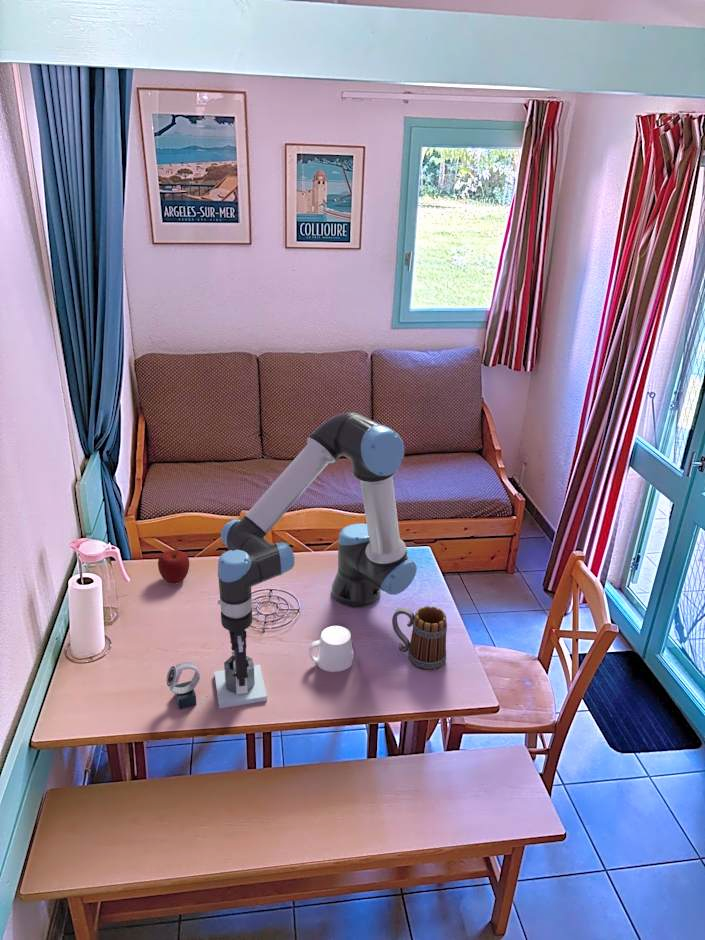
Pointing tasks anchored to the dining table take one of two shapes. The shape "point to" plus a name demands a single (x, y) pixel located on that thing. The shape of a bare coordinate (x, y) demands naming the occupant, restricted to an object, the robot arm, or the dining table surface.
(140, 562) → the dining table surface
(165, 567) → the apple
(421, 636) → the mug
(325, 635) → the mug
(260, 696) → the post block
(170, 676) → the watch
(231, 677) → the collar
